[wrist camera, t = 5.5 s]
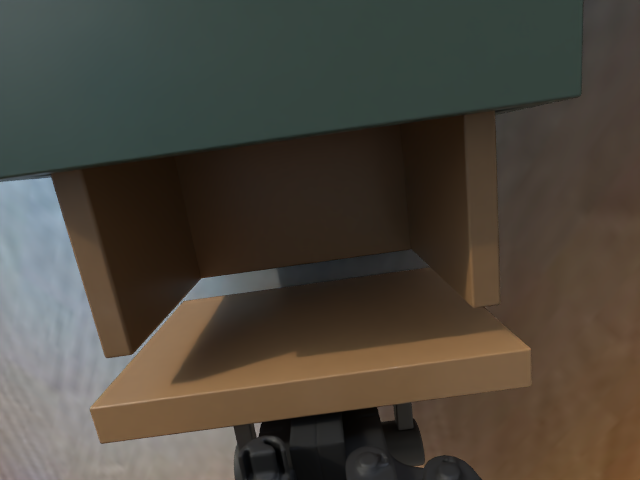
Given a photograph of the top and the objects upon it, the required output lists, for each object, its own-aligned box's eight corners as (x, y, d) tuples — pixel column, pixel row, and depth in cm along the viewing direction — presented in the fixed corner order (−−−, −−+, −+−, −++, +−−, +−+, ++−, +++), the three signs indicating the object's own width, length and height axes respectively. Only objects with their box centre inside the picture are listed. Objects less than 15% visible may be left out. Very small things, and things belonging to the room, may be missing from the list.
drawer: (445, 376, 19) (533, 522, 12) (208, 407, 19) (141, 572, 12) (414, -80, 15) (526, -337, 7) (104, -34, 15) (-120, -235, 7)
